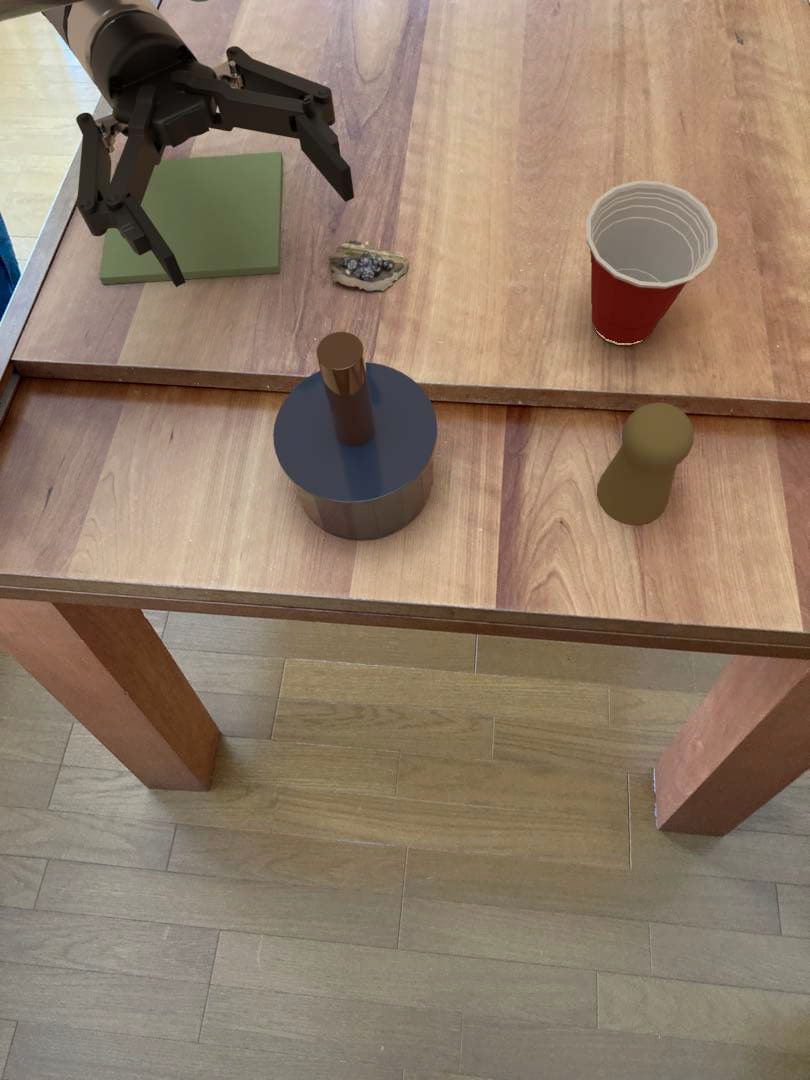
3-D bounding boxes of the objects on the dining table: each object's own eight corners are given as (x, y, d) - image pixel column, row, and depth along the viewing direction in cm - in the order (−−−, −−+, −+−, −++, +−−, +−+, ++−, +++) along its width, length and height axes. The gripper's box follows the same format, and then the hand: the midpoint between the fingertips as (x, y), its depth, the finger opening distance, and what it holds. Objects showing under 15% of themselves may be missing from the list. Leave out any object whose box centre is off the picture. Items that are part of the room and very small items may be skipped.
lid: (273, 514, 63) (240, 438, 53) (277, 375, 69) (248, 281, 58) (442, 504, 63) (441, 426, 53) (432, 365, 68) (430, 270, 58)
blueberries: (326, 246, 83) (324, 232, 82) (404, 237, 83) (403, 222, 82) (332, 298, 80) (329, 285, 79) (413, 288, 80) (412, 274, 79)
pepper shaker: (649, 454, 72) (682, 380, 62) (680, 512, 69) (719, 445, 59) (585, 474, 71) (608, 403, 61) (614, 534, 69) (642, 469, 59)
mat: (102, 284, 83) (98, 277, 82) (118, 170, 89) (115, 162, 88) (279, 273, 82) (277, 266, 81) (283, 159, 89) (281, 151, 88)
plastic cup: (609, 389, 75) (637, 300, 64) (544, 308, 79) (559, 212, 68) (706, 339, 76) (749, 244, 65) (637, 263, 80) (667, 161, 70)
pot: (295, 544, 70) (279, 504, 63) (297, 424, 75) (282, 375, 68) (436, 536, 69) (435, 495, 62) (428, 416, 74) (426, 366, 67)
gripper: (283, 43, 70) (417, 192, 62) (11, 166, 65) (119, 344, 58) (265, -51, 63) (413, 104, 55) (-40, 80, 59) (74, 269, 51)
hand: (263, 227), depth 56 cm, fingers open, 13 cm apart
